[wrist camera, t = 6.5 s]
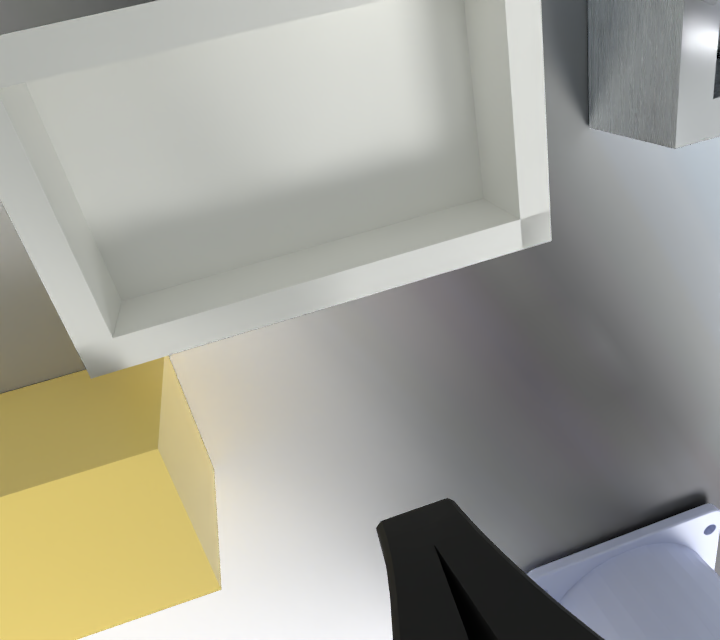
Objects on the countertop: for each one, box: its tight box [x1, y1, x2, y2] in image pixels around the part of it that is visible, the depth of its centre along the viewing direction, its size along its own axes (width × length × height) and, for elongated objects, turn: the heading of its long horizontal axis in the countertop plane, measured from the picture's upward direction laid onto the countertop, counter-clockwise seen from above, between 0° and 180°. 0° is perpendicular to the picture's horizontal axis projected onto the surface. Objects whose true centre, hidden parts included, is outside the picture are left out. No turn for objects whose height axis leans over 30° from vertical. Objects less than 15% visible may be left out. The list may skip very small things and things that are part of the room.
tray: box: [0, 0, 552, 379], centre depth 12 cm, size 6×10×2 cm, turn 102°
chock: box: [0, 356, 221, 640], centre depth 13 cm, size 4×6×4 cm, turn 101°
